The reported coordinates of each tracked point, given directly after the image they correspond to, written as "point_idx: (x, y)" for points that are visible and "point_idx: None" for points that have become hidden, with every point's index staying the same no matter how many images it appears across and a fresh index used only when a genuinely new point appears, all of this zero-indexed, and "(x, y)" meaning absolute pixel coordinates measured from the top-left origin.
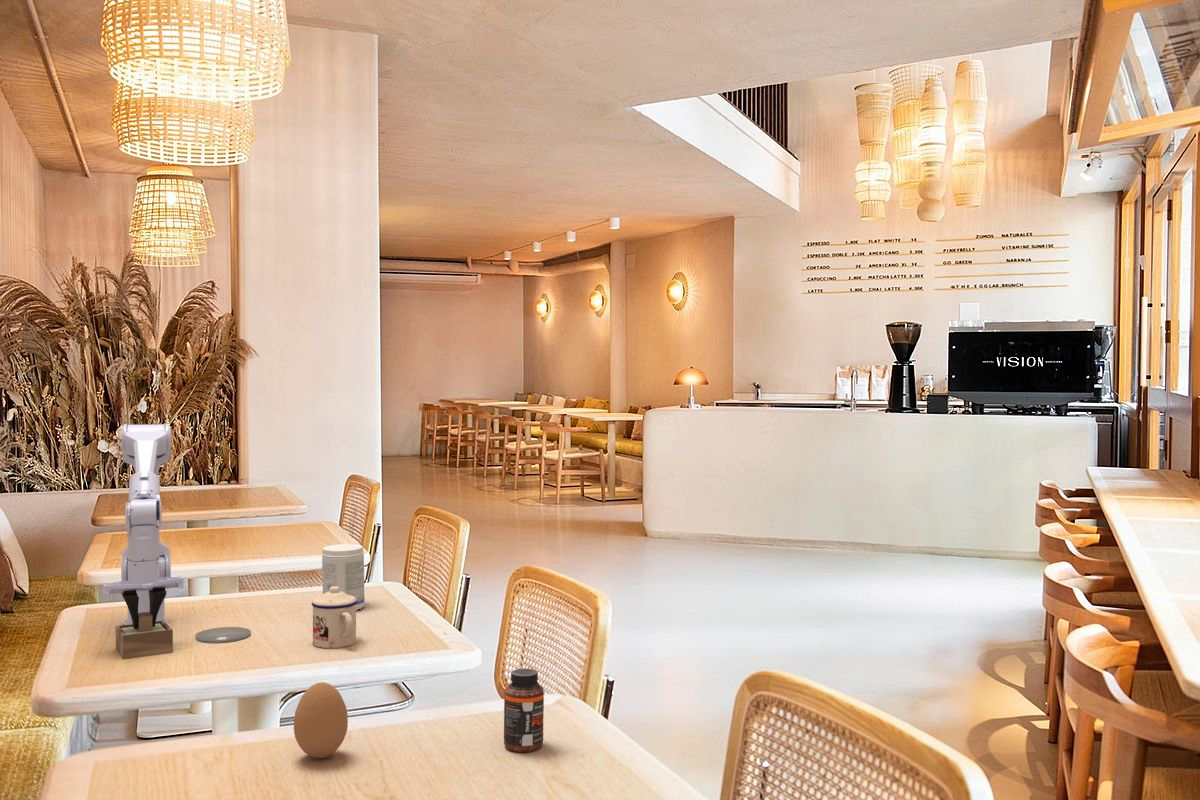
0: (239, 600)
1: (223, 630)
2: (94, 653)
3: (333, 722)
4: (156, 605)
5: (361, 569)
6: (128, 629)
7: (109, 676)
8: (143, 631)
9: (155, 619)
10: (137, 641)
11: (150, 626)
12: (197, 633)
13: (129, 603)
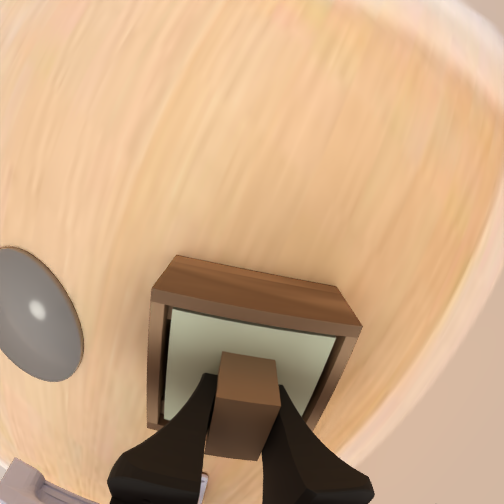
0: None
1: (20, 345)
2: (353, 388)
3: None
4: (186, 434)
5: None
6: None
7: (438, 126)
8: (258, 359)
9: (199, 388)
10: (302, 304)
11: (228, 365)
12: (72, 370)
13: (344, 465)
